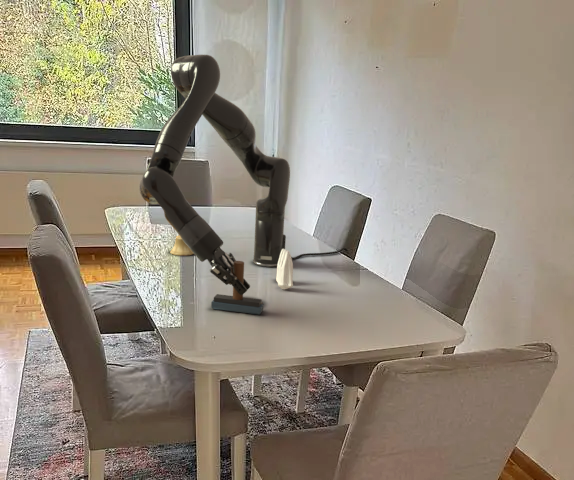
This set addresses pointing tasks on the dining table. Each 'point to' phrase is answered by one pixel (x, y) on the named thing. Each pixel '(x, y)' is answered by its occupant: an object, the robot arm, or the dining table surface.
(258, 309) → the sponge wiper
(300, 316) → the dining table surface
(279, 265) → the shaker set
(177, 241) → the hand bell
